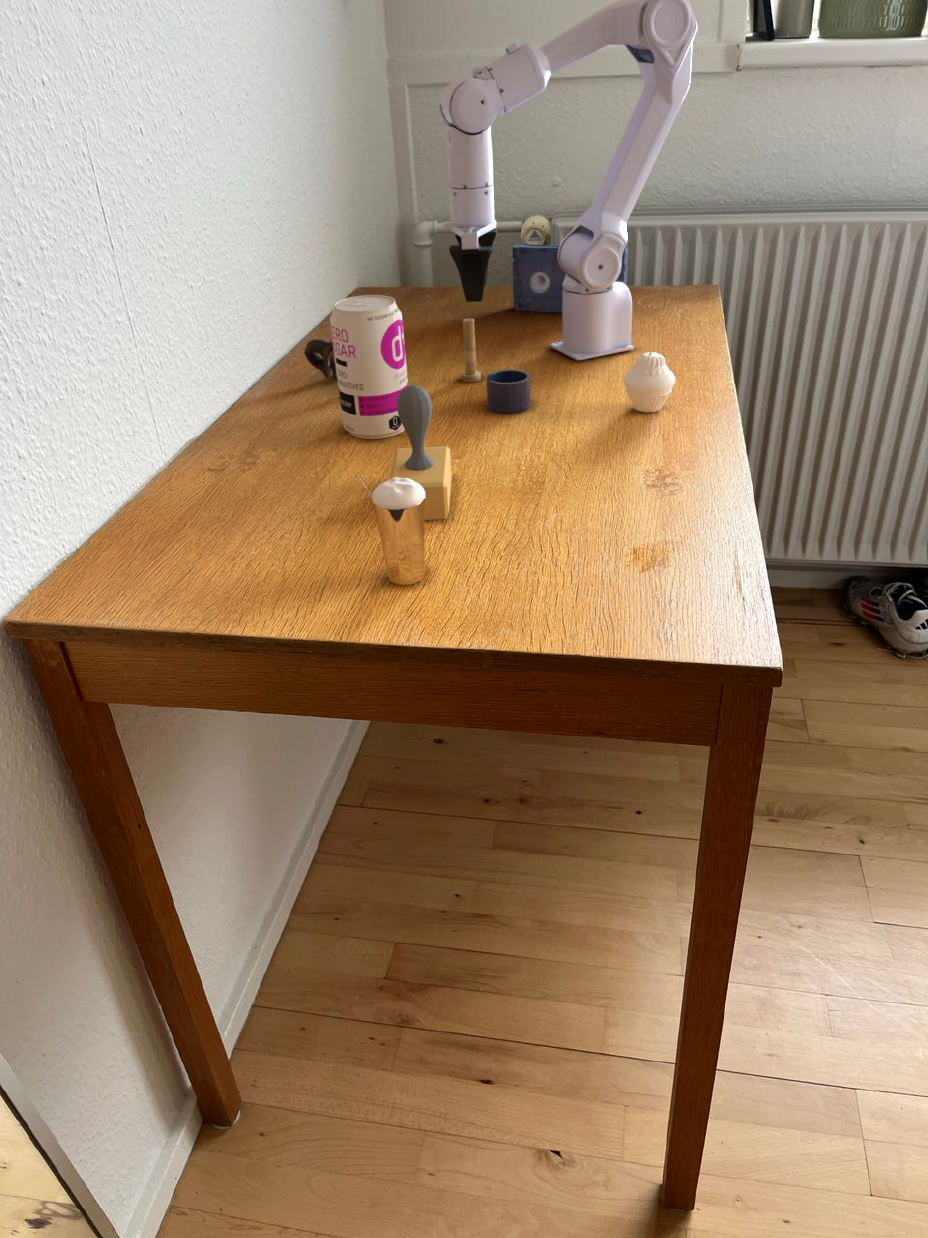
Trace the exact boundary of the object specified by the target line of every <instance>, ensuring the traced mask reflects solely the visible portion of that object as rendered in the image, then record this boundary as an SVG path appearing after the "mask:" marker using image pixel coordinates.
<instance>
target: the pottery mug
mask: <svg viewBox="0 0 928 1238" xmlns="http://www.w3.org/2000/svg"><path fill="white" fill-rule="evenodd" d="M303 354H304V355H305V358H306V360H307V361H308V362H309V363H310V365H311V366H312V367H314V369H316V370H317V371H320V372H321V374H322V375H323V376H324V377H325V379H329V378H330V375H331V373H332V377H333V378H337V372H336V364H335V356H334V348H333V341H328V340H325V339H322V338H314V339H311V340H309V341H308V342H307V343H306V345H305V348H304V351H303ZM320 356H321V357H320Z"/></svg>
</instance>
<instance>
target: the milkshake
mask: <svg viewBox="0 0 928 1238" xmlns="http://www.w3.org/2000/svg"><path fill="white" fill-rule="evenodd" d="M359 479H360V481H361V483H362V485H363V486H364V488H365V489H366V490H367V492H368V494H369V496H370V497H371V500H372V505H373V509H374V513H375V518H376V522H377V527H378V532H379V537H380V538H379V539H380V543H381V548H382V554H383V559H384V564H385V569H386V573H387V578H388V579H389V581H390V583H392V584H395V585H399V586H408V585H414V584H417V583H418V582H421V581H422V580H423V579H424V577H425V574H426V560H425V559H426V552H425V551H426V550H425V549H426V547H425V545H426V544H425V542H426V541H425V540H426V535H425V531H426V529H425V527H426V525H425V523H426V522H425V521H426V520H425V491H424V489H423V487H422V486H421V485H420V484H418V483H416V482H414V481H413V480H411V479H409V478H398V477H394V478H392V479H390V478H389V479H388V480H386V481H385V482H381V483H380V484H378V485H377V486H376V488H374V490H373V492H372V493H371V491H370V489H369V487H368V486H367V484H366V482H365V481H364V479H363V478H362V476H361V475H359Z"/></svg>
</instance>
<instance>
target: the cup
mask: <svg viewBox="0 0 928 1238" xmlns="http://www.w3.org/2000/svg"><path fill="white" fill-rule="evenodd" d="M485 380H486V403H487V409H488V410H489V411H491V412H493V413H497V414H504V415H505V414H506V415H510V414H518V413H522V412H525V411H528V410H529V409H530V408H531V404H532V403H531V402H532V399H531V398H532V395H531V392H532V391H531V375H530V373H529V372H527V371H524V370H519V369H501V370H496V371H493V372H490V373H489V374H487V376H486V379H485Z"/></svg>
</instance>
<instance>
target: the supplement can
mask: <svg viewBox="0 0 928 1238" xmlns="http://www.w3.org/2000/svg"><path fill="white" fill-rule="evenodd" d="M329 324H330V331H331V340H332V341H331V342H333V348H334V356H335V364H336V372H337V376H336V379H337V387H338V394H339V395H338V396H339V402H340V410H341V420H342V425H343V428H344V430H346V431H347V432H349V434H350V435H351V436H353V437H356V438H359V439H364V440H378V439H386V438H390V437H395V436H397V435H399V434H401V433H403V432H404V431H405V429H404V427H403V425H402V423H401V420H400V418H399V415H398V411H397V399H398V396H399V394H400V393H401V391H402V390H403V389H404V388H405V387H408V386H409V379H408V370H407V369H408V368H407V367H408V366H407V357H406V344H405V335H404V334H405V333H404V322H403V313H402V311H401V310H400V308H399V306H398V305H397V303H396V300H395V298H394V297H392V296H388V295H381V294H364V295H363V294H362V295H354V296H350V297H344V298H341V299H340V300H338V301H335V302H334V304H333V310H332V312H331V315H330V318H329Z"/></svg>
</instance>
